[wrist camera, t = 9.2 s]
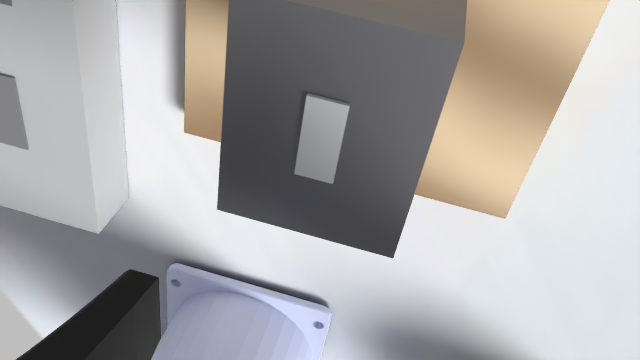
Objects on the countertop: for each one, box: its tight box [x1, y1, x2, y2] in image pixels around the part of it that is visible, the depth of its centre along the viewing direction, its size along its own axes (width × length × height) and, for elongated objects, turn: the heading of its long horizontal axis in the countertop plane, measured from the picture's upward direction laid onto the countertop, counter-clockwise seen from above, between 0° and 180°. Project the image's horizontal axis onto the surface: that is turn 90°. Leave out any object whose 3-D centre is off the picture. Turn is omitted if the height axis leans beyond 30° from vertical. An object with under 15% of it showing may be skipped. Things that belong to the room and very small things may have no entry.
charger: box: [217, 0, 467, 258], centre depth 14 cm, size 5×4×8 cm
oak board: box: [184, 0, 610, 218], centre depth 17 cm, size 12×12×1 cm
